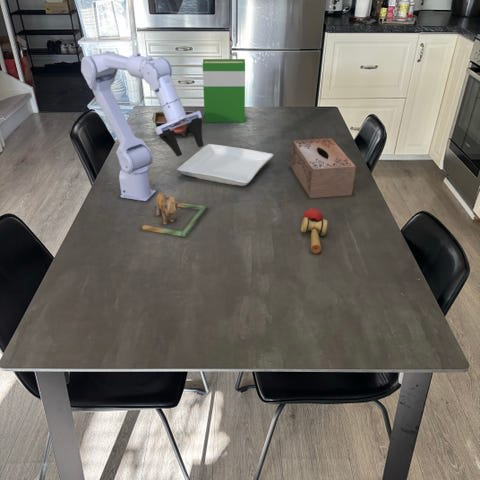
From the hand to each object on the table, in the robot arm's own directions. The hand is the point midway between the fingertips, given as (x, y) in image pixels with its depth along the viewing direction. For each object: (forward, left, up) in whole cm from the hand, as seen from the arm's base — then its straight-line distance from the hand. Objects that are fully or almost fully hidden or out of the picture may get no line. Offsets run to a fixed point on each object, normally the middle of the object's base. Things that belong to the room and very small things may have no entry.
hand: (190, 151), depth 153 cm
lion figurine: (-8, -3, -21) cm, 23 cm away
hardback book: (-21, +90, -21) cm, 95 cm away
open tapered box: (-35, +67, -21) cm, 79 cm away
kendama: (+38, -1, -21) cm, 44 cm away
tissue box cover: (+32, +39, -21) cm, 55 cm away
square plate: (-2, +37, -21) cm, 43 cm away
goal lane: (-5, -3, -21) cm, 22 cm away
